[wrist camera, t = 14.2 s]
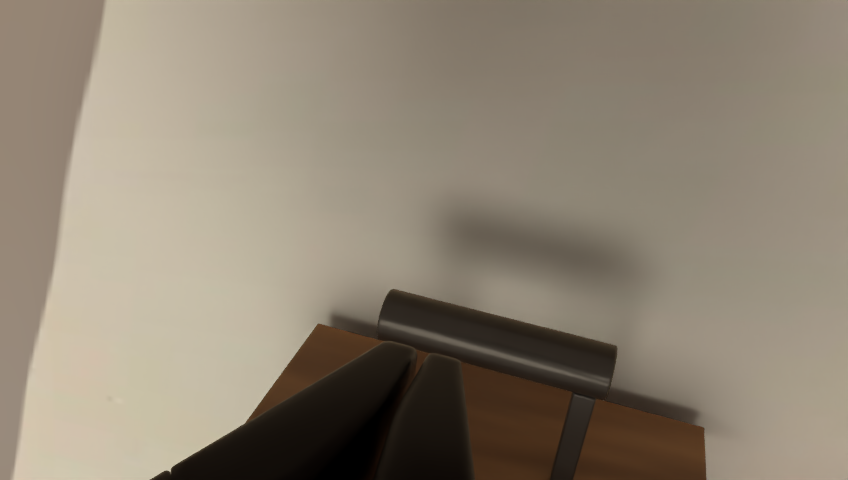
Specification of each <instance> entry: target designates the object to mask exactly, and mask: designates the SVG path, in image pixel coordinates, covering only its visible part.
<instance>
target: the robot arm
mask: <svg viewBox="0 0 848 480" xmlns="http://www.w3.org/2000/svg"><path fill="white" fill-rule="evenodd" d="M416 364H417V351H416V349H415V348H414V347H411V346H407V345H404V344H400V343H396V342H393V341H385V342H382V343H380V344H379V345H377V346H375V347H374V348H372V349H370V350H369V351H367V352H365V353H364V354H362V355H360V356H358V357H357V358H355V359H353V360H352V361H350V362H348V363H347V364H345V365H343V366H342V367H340V368H338V369H337V370H335V371H333V372H331V373H330V374H328V375H326V376H325V377H323V378H321V379H320V380H318V381H316V382H315V383H313V384H311V385H310V386H308V387H306V388H304V389H303V390H301V391H299V392H298V393H296V394H294V395H293V396H291V397H289V398H288V399H286V400H284V401H283V402H281V403H279V404H277V405H276V406H274V407H272V408H271V409H269V410H267V411H266V412H264V413H262V414H261V415H259V416H257V417H256V418H254V419H252V420H250V421H249V422H247V423H245V424H244V425H242V426H240V427H239V428H237V429H235V430H234V431H232V432H230V433H229V434H227V435H225V436H223V437H222V438H220V439H218V440H217V441H215V442H213V443H212V444H210V445H208V446H207V447H205V448H203V449H202V450H200V451H198V452H196V453H195V454H193V455H191V456H190V457H188V458H186V459H185V460H183V461H181V462H180V463H178V464H176V465H175V466H173V467H172V468H171V473H170V472H169V471H164V472H162V473H161V474H159V475H157V476H155V477H154V478H152V479H150V480H475V473H474V465H473V457H472V448H471V440H470V432H469V424H468V415H467V407H466V399H465V390H464V382H463V374H462V366H461V362H460V361H459V360H458V359H456V358H452V357H448V356H445V355H441V354H437V353H431V354H429V355H428V356H427V357H426V358H425V360H424V362H423V364H422V365H421V367H420V369H419V370H418V372H417V374H416V376H415V372H416Z"/></svg>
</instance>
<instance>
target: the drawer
mask: <svg viewBox="0 0 848 480" xmlns="http://www.w3.org/2000/svg"><path fill="white" fill-rule="evenodd" d="M377 335H378V338H379V339H380V340H377V339H374V338H370V337H366V336H363V335H359V334H355V333H351V332H348V331H344V330H340V329H337V328H333V327H329V326H326V325H322V324H317V326H316V327H315V329H314V330H313V331H312V333H311V334H310V335H309V337H308V338H307V339H306V341H305V342H304V344H303V345H302V346H301V348H300V349H299V350H298V352H297V353H296V355H295V356H294V357H293V359H292V360H291V361H290V363H289V364H288V365H287V367H286V368H285V370H284V371H283V372H282V374H281V375H280V376H279V378H278V379H277V380H276V382H275V383H274V385H273V386H272V387H271V389H270V390H269V391H268V393H267V394H266V396H265V397H264V398H263V400H262V401H261V402H260V404H259V405H258V406H257V408H256V409H255V411H254V412H253V413H252V415H251V416H250V417H249V419H248V420H247V421H246V423H247V422H249V421H250V420H252V419H254V418H256V417H257V416H259V415H261V414H262V413H264V412H266V411H267V410H269V409H271V408H272V407H274V406H276V405H277V404H279V403H281V402H283V401H284V400H286V399H288V398H289V397H291V396H293V395H294V394H296V393H298V392H299V391H301V390H303V389H304V388H306V387H308V386H310V385H311V384H313V383H315V382H316V381H318V380H320V379H321V378H323V377H325V376H326V375H328V374H330V373H331V372H333V371H335V370H337V369H338V368H340V367H342V366H343V365H345V364H347V363H348V362H350V361H352V360H353V359H355V358H357V357H358V356H360V355H362V354H364V353H365V352H367V351H369V350H370V349H372V348H374V347H375V346H377V345H379V344H380V343H382V342H385V341H393V342H396V343H400V344H404V345H407V346H411V347H414V348H415V349H416V351H417V364H416V372H415V376H416V374H417V372H418V370H419V369H420V367H421V365H422V364H423V362H424V360H425V358H426V357H427V356H428V355H429V353H430V354H431V353H437V354H441V355H445V356H448V357H452V358H456V359H458V360H459V361H460V362H461V366H462V374H463V382H464V390H465V399H466V407H467V415H468V424H469V432H470V440H471V448H472V457H473V465H474V473H475V480H706V461H705V438H704V428H703V427H700V426H696V425H692V424H689V423H685V422H681V421H677V420H674V419H670V418H666V417H663V416H659V415H655V414H652V413H648V412H644V411H640V410H637V409H633V408H629V407H626V406H622V405H618V404H614V403H611V402H607V401H603V400H605V399H606V397H607V395H608V392H609V389H610V385H611V382H612V378H613V373H614V369H615V364H616V358H617V346H615V345H612V344H608V343H604V342H600V341H596V340H592V339H588V338H584V337H580V336H576V335H572V334H569V333H565V332H561V331H557V330H553V329H549V328H545V327H541V326H537V325H533V324H529V323H525V322H521V321H517V320H514V319H510V318H506V317H502V316H498V315H494V314H490V313H486V312H482V311H478V310H474V309H470V308H466V307H462V306H458V305H455V304H451V303H447V302H443V301H439V300H435V299H431V298H427V297H423V296H419V295H415V294H411V293H407V292H403V291H399V290H396V289H392V290H390V291H389V293H388V294H387V296H386V298H385V300H384V302H383V305H382V308H381V311H380V315H379V320H378V327H377ZM381 340H382V341H381ZM418 350H419V351H418ZM466 363H467V364H466ZM470 364H471V365H470ZM477 366H478V367H477ZM481 367H482V368H481ZM492 370H493V371H492ZM503 373H504V374H503ZM507 374H508V375H507ZM514 376H515V377H514ZM518 377H519V378H518ZM529 380H530V381H529ZM540 383H541V384H540ZM544 384H545V385H544ZM555 387H556V388H555ZM566 390H567V391H566ZM570 391H571V392H570Z"/></svg>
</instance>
